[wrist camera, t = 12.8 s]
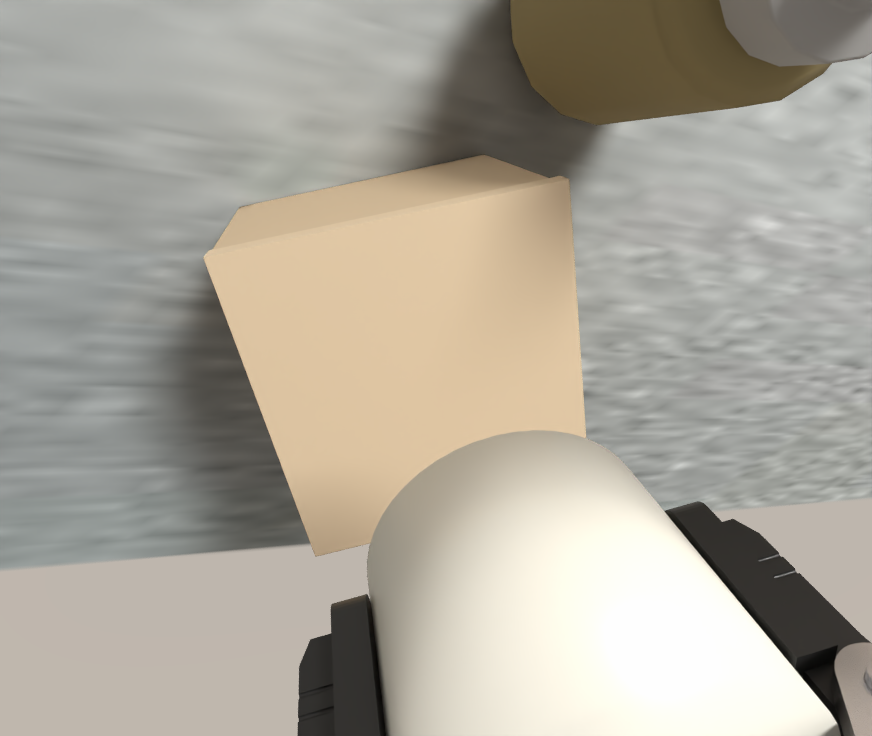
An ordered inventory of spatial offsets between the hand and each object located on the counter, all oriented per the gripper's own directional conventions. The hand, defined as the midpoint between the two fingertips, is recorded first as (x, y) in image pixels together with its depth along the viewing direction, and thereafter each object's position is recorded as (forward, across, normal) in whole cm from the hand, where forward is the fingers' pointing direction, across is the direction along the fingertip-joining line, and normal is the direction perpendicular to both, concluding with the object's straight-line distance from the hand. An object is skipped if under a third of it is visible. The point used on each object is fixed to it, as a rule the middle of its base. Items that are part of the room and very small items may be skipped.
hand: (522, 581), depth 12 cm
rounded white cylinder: (+1, 0, 0) cm, 1 cm away
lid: (+10, 0, 0) cm, 10 cm away
